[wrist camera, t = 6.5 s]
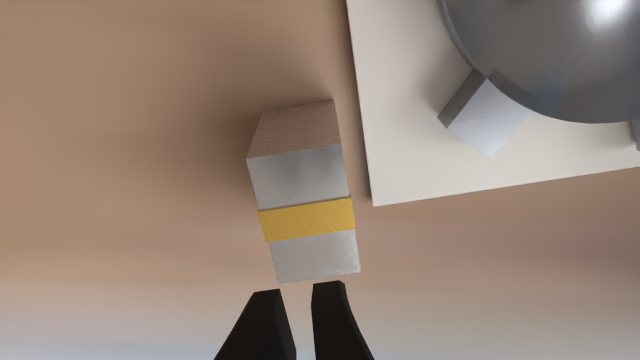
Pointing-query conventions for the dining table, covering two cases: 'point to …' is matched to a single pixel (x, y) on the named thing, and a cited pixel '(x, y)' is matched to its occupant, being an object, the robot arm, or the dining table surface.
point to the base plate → (430, 99)
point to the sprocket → (542, 65)
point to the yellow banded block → (303, 192)
